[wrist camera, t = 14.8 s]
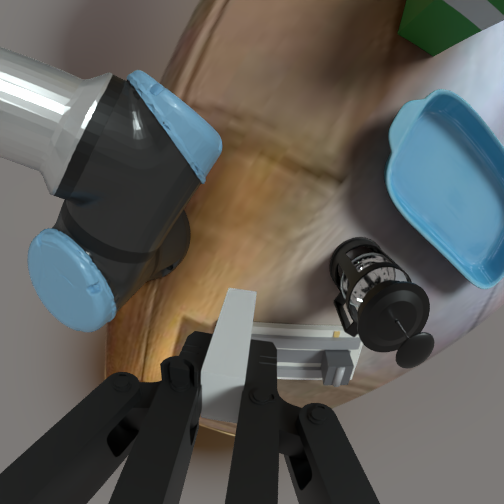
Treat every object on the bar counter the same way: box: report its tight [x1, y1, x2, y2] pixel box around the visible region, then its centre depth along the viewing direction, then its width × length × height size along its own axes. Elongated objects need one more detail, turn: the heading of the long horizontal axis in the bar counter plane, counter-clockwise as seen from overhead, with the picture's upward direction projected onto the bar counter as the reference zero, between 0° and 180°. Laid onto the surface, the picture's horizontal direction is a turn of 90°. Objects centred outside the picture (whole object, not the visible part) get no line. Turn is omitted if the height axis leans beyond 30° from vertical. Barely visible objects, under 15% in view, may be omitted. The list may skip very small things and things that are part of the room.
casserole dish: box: [384, 89, 504, 289], centre depth 34 cm, size 37×22×7 cm, turn 58°
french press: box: [330, 237, 434, 368], centre depth 32 cm, size 12×9×23 cm
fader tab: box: [320, 350, 354, 387], centre depth 44 cm, size 4×4×6 cm
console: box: [251, 322, 363, 380], centre depth 47 cm, size 26×12×2 cm, turn 88°
